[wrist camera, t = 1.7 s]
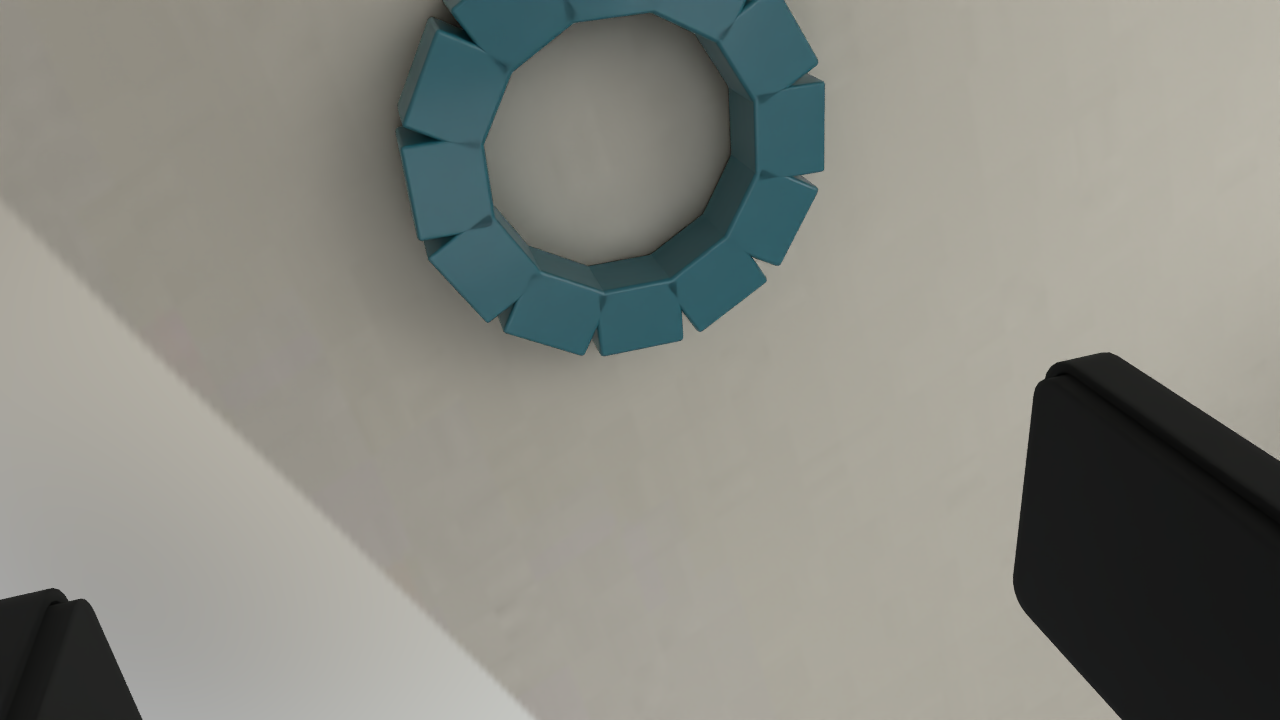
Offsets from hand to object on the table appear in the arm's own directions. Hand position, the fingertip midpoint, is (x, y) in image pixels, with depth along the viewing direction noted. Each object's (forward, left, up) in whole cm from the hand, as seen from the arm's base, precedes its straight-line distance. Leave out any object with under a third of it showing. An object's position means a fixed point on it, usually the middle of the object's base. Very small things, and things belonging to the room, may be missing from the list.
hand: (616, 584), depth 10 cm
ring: (+3, 0, -14) cm, 14 cm away
